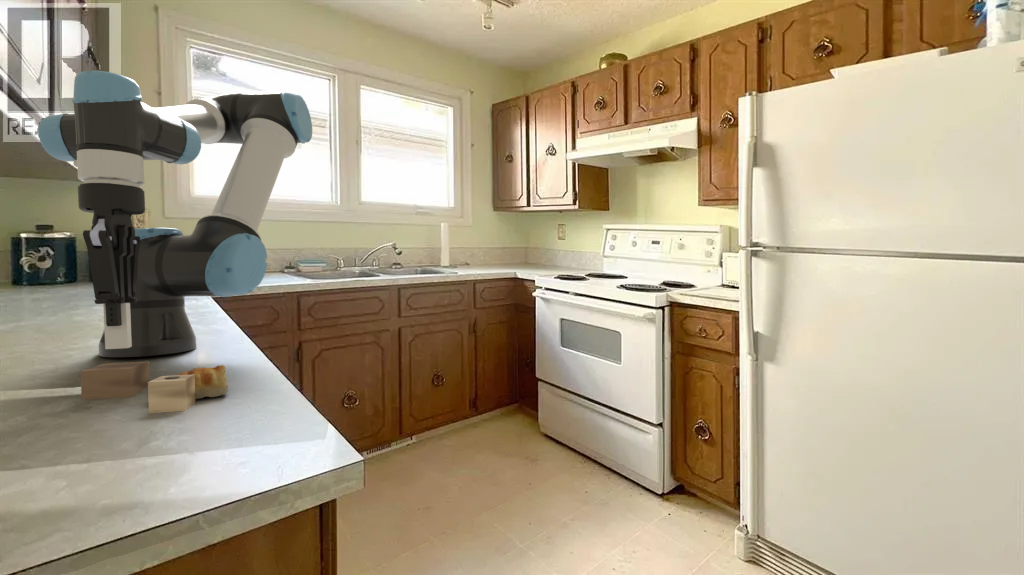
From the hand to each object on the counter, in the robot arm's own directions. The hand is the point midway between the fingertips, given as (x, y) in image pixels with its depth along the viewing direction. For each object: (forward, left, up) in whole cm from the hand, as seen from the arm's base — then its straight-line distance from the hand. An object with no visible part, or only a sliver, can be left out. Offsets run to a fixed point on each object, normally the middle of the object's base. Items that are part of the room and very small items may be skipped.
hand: (118, 347), depth 73 cm
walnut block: (0, 0, -7) cm, 7 cm away
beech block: (+12, +10, -7) cm, 17 cm away
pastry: (+4, +8, -8) cm, 12 cm away
